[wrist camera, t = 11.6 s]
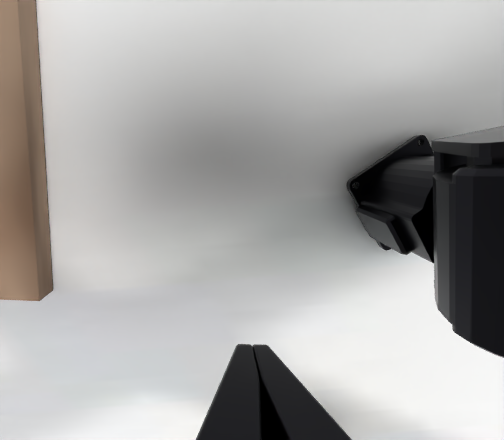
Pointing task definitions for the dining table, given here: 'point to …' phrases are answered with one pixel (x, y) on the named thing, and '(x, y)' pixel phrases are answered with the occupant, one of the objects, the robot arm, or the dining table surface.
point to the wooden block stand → (22, 159)
